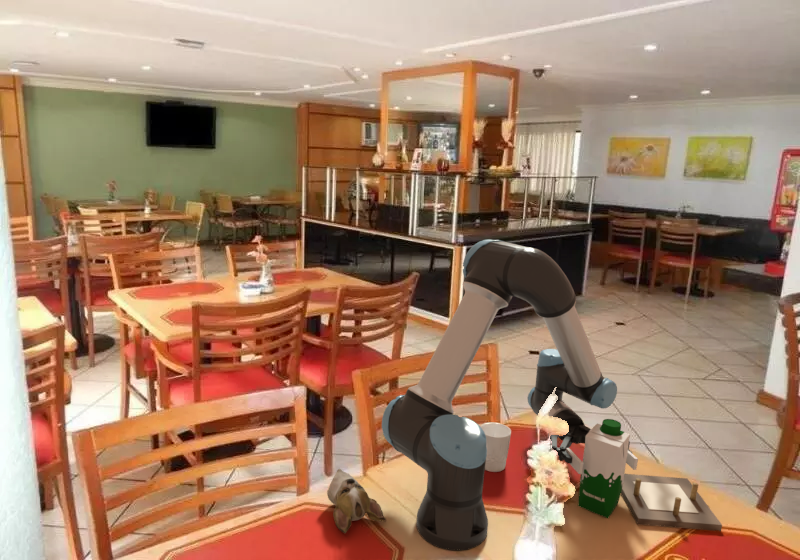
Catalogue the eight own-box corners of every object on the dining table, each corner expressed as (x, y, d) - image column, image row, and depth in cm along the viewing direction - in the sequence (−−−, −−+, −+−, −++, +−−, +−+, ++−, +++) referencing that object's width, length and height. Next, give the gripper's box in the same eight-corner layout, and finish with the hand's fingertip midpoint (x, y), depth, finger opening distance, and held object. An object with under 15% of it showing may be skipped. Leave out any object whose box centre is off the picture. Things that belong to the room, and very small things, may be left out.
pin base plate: (637, 524, 126) (640, 502, 125) (612, 478, 144) (615, 458, 143) (721, 530, 126) (725, 508, 124) (686, 483, 143) (689, 464, 142)
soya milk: (622, 503, 134) (635, 425, 129) (610, 522, 127) (622, 440, 122) (585, 489, 139) (596, 413, 134) (572, 506, 132) (582, 427, 127)
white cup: (471, 466, 146) (474, 430, 144) (485, 453, 153) (488, 419, 150) (499, 477, 142) (503, 440, 140) (512, 463, 148) (516, 428, 146)
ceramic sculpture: (360, 457, 132) (390, 496, 119) (358, 489, 134) (387, 530, 122) (316, 468, 127) (342, 509, 114) (315, 501, 129) (341, 545, 117)
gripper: (605, 432, 152) (655, 477, 132) (517, 437, 147) (555, 485, 127) (609, 406, 151) (660, 447, 131) (520, 411, 145) (559, 455, 125)
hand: (608, 466), depth 129 cm, fingers open, 13 cm apart
